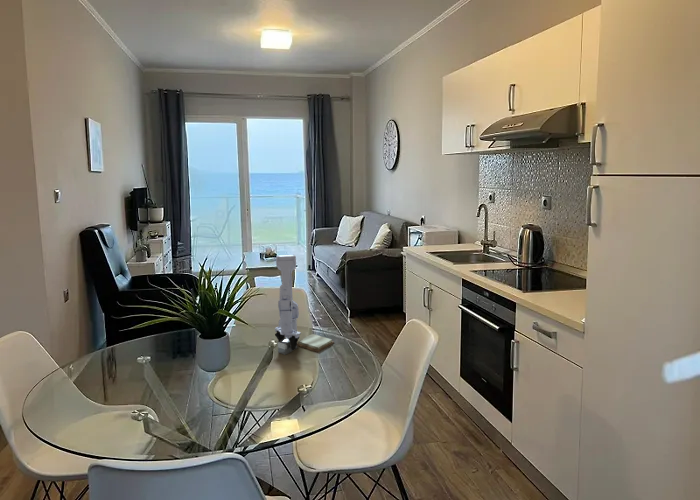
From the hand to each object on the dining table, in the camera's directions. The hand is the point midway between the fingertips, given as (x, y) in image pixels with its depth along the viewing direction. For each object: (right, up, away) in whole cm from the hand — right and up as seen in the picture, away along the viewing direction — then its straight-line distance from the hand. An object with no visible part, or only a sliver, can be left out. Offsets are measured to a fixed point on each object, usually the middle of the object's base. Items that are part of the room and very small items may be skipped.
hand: (287, 347), depth 256 cm
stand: (+13, +1, +6) cm, 15 cm away
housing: (0, -2, 0) cm, 2 cm away
